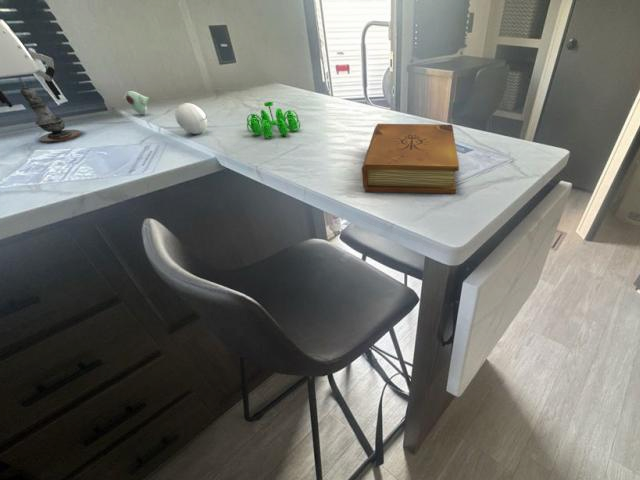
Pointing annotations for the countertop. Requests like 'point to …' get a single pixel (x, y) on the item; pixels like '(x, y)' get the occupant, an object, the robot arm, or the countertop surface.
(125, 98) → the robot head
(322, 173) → the countertop surface
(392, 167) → the diary
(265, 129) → the chandelier
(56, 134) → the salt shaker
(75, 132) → the coaster
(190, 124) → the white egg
